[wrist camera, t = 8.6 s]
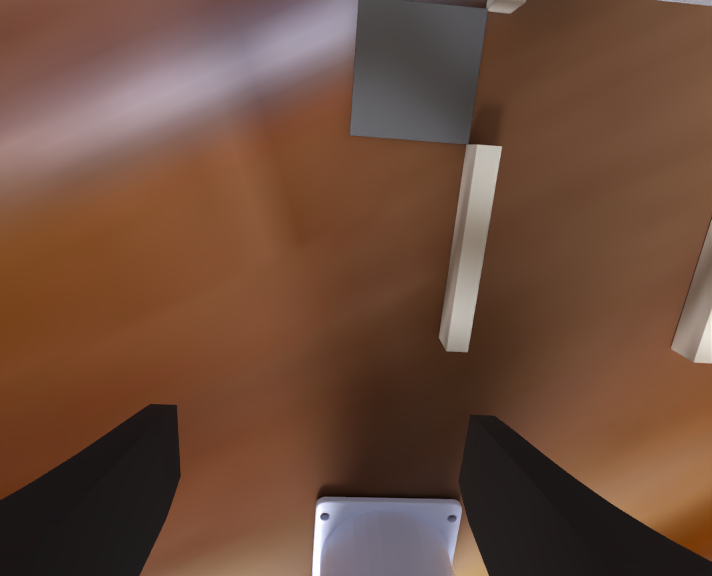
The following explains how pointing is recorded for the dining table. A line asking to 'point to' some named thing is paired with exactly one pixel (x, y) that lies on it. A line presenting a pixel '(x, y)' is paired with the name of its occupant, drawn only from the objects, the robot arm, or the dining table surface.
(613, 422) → the dining table surface
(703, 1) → the block
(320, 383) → the dining table surface
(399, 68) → the trap lane
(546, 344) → the dining table surface
